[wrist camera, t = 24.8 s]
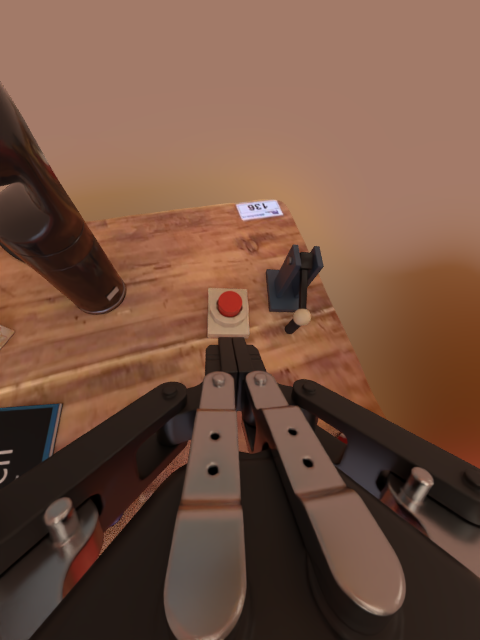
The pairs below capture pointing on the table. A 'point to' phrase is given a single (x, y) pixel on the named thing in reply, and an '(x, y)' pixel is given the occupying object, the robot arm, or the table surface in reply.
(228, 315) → the power button
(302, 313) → the switch lever
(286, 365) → the table surface
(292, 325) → the rest post
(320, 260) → the switch bracket
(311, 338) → the table surface
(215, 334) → the control box
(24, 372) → the table surface
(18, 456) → the sketchbook
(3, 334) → the coffeecake box
